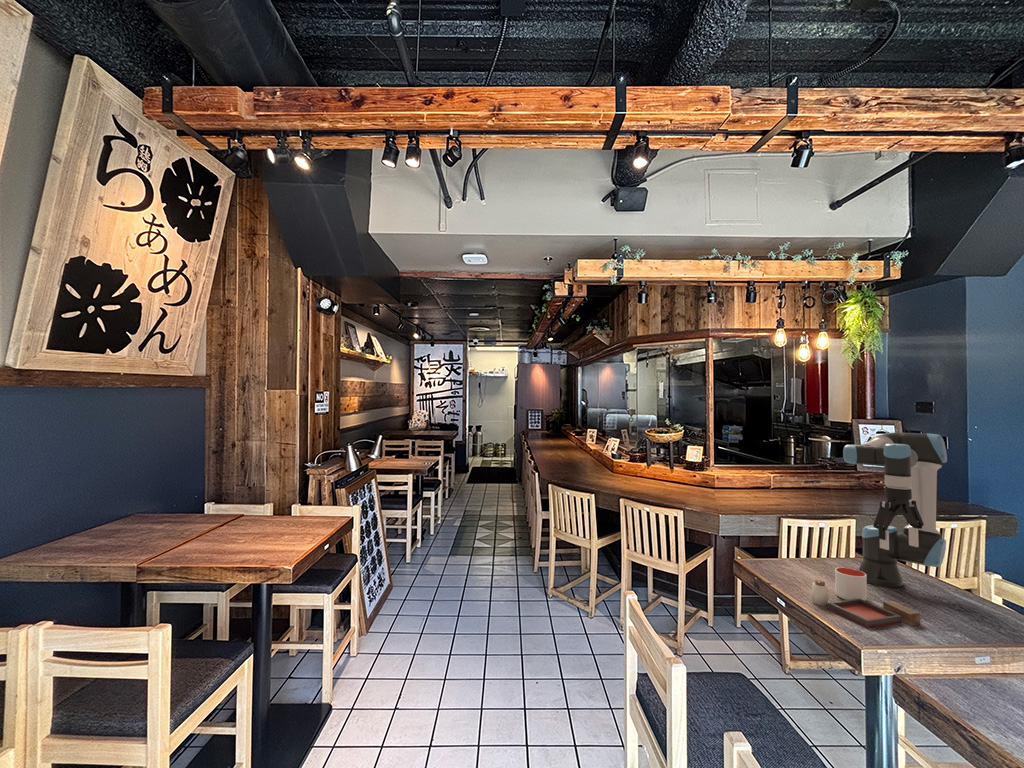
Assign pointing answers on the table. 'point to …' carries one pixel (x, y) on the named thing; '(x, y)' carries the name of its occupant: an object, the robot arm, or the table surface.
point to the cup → (850, 584)
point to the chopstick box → (903, 612)
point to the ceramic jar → (820, 593)
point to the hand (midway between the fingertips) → (899, 547)
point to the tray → (864, 613)
